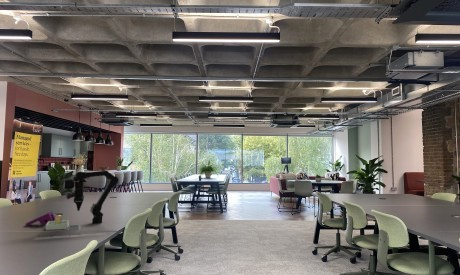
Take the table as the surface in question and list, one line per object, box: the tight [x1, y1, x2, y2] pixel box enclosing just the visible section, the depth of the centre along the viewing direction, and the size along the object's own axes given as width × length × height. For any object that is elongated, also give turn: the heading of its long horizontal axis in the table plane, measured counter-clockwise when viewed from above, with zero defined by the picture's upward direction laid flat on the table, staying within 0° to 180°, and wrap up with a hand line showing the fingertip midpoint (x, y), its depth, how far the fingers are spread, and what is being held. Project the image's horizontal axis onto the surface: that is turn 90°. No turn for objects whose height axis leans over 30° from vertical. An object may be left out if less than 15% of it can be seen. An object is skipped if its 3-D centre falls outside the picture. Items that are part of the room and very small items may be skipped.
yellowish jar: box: [55, 214, 63, 224], centre depth 225 cm, size 4×4×9 cm
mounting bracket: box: [25, 210, 56, 227], centre depth 241 cm, size 9×8×18 cm
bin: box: [45, 219, 70, 231], centre depth 226 cm, size 13×13×5 cm
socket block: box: [67, 224, 82, 231], centre depth 223 cm, size 8×8×3 cm
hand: (78, 209), depth 236 cm, fingers open, 9 cm apart
